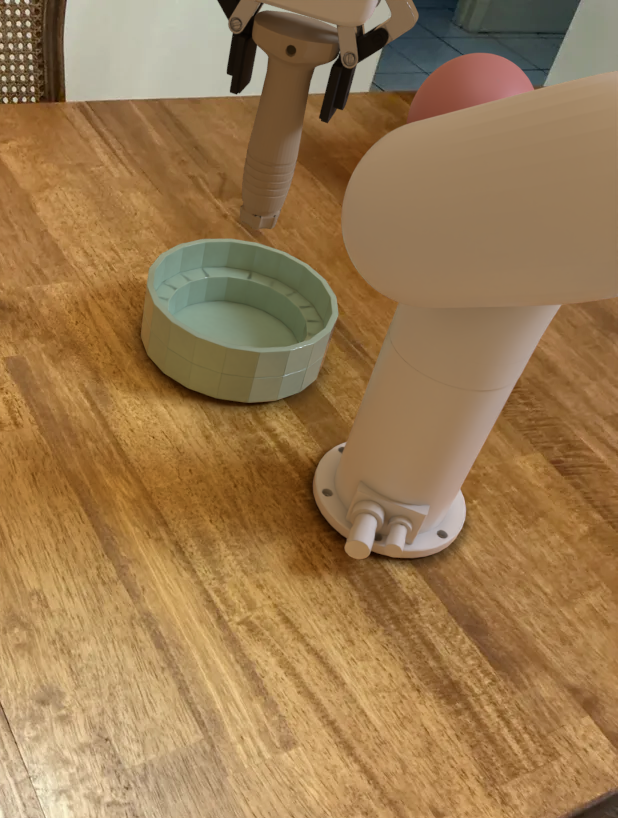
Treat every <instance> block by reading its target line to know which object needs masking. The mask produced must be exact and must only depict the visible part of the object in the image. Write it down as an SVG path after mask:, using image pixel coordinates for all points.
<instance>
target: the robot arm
mask: <svg viewBox="0 0 618 818" xmlns="http://www.w3.org/2000/svg"><path fill="white" fill-rule="evenodd" d="M216 1H217V3H218V4H219V7H220V9H221V11H222V12H223V13H224V16H225V17H226V19H227V21H228V22H227V26H228V29H229V31H230V32H231V33H232V35H231V40H230V47H229V53H228V59H227V65H226V75H228V76H231V80H230V87H229V93H230V94H233V95H238V94H241V93H242V92H243V91H244V89H246V88H247V86H249V84H250V83H251V80H252V76H253V70H254V66H255V62H256V61H255V60H256V56H257V50H258V45H257V44H256V43H255V42H254V40H253V39H252V30H253V24H254V18H255V15H256V14H257V13H259V12H261V10H262V8H263V6H264V5H268V6H272V7H275V8H278V9H281V10H284V11H286V12H290V13H294V14H298V15H302V16H306V17H310V18H313V19H317V20H319V21H322V22H324V23H327V24H330V25H331V24H332V25H335V26H336V28H337V32H338V40H339V47H340V52H339V55H338V57H337V58H336V59H335V60H334V62H333V63H332V65H331V68H330V72H329V75H328V79H327V82H326V86H325V87H326V88H325V91H324V94H323V99H322V103H321V108H320V112H319V116H318V119H320V121H321V122H322V123H326V124H329V122H330V121H331V119H332V118H333V116H334V115H335V113H336V112H337V110H340V111H344V109H345V108H346V105H347V102H348V100H349V96H350V93H351V88H352V84H353V80H354V78H355V73H356V69H357V67H358V64H359V63H361V62H363V61H364V60H366V59H367V58H369V57H371V56H372V55H374V54H375V53H377V52H379V51H380V50H382V49H383V48H385V46H387V45H388V44H390V43H391V42H393V41H395V40H396V39H398V38H399V37H401V36H402V35H404V34H406V33H407V32H409V31H410V30H412V29H413V28H414V27H415V25H416V24H417V22H418V20H419V12H418V9H417V8H416V5H415V3H414V2H413V0H384V1H385V3H386V4H387V7H388V9H389V11H390V17H388V18H387V19H386V20H385V21H383V22H382V23H379V24H377V25H376V26H374V27H372V28H371V29H369V30H368V31H365V23H366V22H367V21H369V20H370V18H371V17H372V16H373V15H374V12H375V10H376V8H377V7H379V5H380V3H381V1H382V0H216ZM342 200H343V201H342V204H341V205H342V206H341V214H340V218H341V219H340V226H341V235H342V239H343V244H344V247H345V249H346V250H345V251H346V252H347V255H348V257H349V260H350V261H351V264H352V265H353V267H354V268H355V270H356V271H357V273H358V274H359V275H360V276H361V278H362V279H363V280H364V281H365V282H366V283H367V284H368V285H369V286H370V287H371V288H373V289H374V290H375V291H376V292H378V293H379V294H381V295H382V296H384V297H386V298H387V299H389V300H392V301H394V302H396V303H397V306H396V308H395V311H394V314H393V316H392V319H391V321H390V323H389V326H388V328H387V331H386V334H385V337H384V339H383V341H382V345H381V347H380V350H379V353H378V355H377V358H376V361H375V364H374V367H373V369H372V372H371V374H370V377H369V379H368V382H367V385H366V388H365V390H364V392H363V396H362V399H361V401H360V405H359V407H358V410H357V412H356V415H355V418H354V420H353V423H352V426H351V428H350V431H349V434H348V436H347V439H346V441H345V442H342V443H339V444H338V445H335V446H333V447H332V448H331V449H330V450H328V451H327V452H326V453H325V454H324V455H323V456H322V458H321V459H320V460H319V462H318V465H317V467H316V469H315V472H314V476H313V480H312V494H313V497H314V500H315V504H316V506H317V507H318V509H319V511H320V514H321V515H322V516H323V518H324V519H325V520H326V521H327V523H328V524H329V525H330V526H331V527H332V528H333V529H334V530H335V531H336V532H338V533H339V535H341V536H342V537H344V538H345V539H346V541H345V544H344V547H343V548H344V551H345V554H346V555H348V556H349V557H351V558H353V559H356V560H364V559H367V558H369V556H370V554H371V552H374V553H376V554H380V555H382V556H386V557H390V558H395V559H396V558H398V559H399V558H400V559H417V558H424V557H428V556H431V555H434V554H438V553H439V552H441V551H443V550H445V549H446V548H448V547H449V546H451V544H453V542H454V541H455V540H456V539H457V537H458V535H460V532H461V530H462V529H463V527H464V523H465V521H466V515H467V506H466V502H465V497H464V495H463V492H462V490H461V488H462V487H463V485H464V482H465V480H466V478H467V477H468V475H469V472H470V471H471V469H472V468H473V465H474V464H475V462H476V460H477V457H478V456H479V454H480V452H481V451H482V448H483V446H484V444H485V442H486V441H487V439H488V437H489V435H490V433H491V431H492V430H493V428H494V425H495V424H496V422H497V420H498V418H499V416H500V415H501V412H502V410H503V409H504V407H505V405H506V403H507V401H508V399H509V397H510V395H511V394H512V392H513V390H514V388H515V386H516V385H517V382H518V381H519V378H521V376H522V374H523V372H524V370H525V369H526V366H527V364H528V362H529V361H530V359H531V357H532V356H533V353H534V352H535V350H536V348H537V347H538V344H539V343H540V341H541V340H542V337H543V336H544V334H545V332H546V330H547V328H548V327H549V325H550V324H551V322H552V320H553V318H555V316H556V315H557V313H558V311H559V310H560V308H561V307H562V306H565V305H574V304H583V303H589V302H596V301H604V300H608V299H613V298H614V299H615V298H618V70H613V71H606V72H602V73H598V74H597V73H596V74H593V75H589V76H588V75H587V76H584V77H579V78H576V79H571V80H566V81H563V82H560V83H555V84H551V85H548V86H544V87H540V88H535V89H534V90H532V91H529V92H525V93H521V94H518V95H514V96H510V97H507V98H503V99H499V100H495V101H491V102H488V103H484V104H480V105H476V106H473V107H469V108H465V109H461V110H458V111H454V112H450V113H446V114H443V115H439V116H435V117H431V118H427V119H424V120H420V121H416V122H412V123H409V124H407V123H406V124H403V125H401V126H399V127H396V128H395V129H393V130H391V131H389V132H387V133H386V134H385V135H383V136H382V137H381V138H380V139H378V140H376V142H375V143H373V145H372V146H371V147H370V148H369V149H368V150H367V151H366V153H365V154H364V155H363V156H362V157H361V159H360V160H359V161H358V163H357V165H356V166H355V168H354V170H353V172H352V174H351V176H350V178H349V181H348V182H347V185H346V189H345V192H344V195H343V199H342Z"/></svg>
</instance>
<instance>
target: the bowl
mask: <svg viewBox="0 0 618 818" xmlns="http://www.w3.org/2000/svg"><path fill="white" fill-rule="evenodd" d="M338 307H339V305H338V299H337V296H336V294H335V292H334V290H333V289H332V287H331V285H330V284H329V283H328V281H327V280H326V278H324V277H323V276H322V275H321V274H320V273H318V272H317V271H316V269H314V268H313V267H311V266H310V265H309V264H308V263H306V262H304V261H302V260H300V259H299V258H297V257H295V256H294V255H292V254H290V253H288V252H286V251H283V250H281V249H277V248H275V247H271V246H268V245H266V244H262V243H259V242H254V241H249V240H242V239H237V238H236V239H235V238H200V239H196V240H191V241H188V242H182V243H178V244H177V245H175V246H173V247H170V248H169V249H167V250H165V251H163V252H162V253H160V254H159V255H158V256H157V258H155V260H154V261H153V263H152V264H151V265H150V267H148V272H147V279H146V286H145V296H144V304H143V311H142V320H141V328H140V330H141V331H140V339H141V341H142V344H143V346H144V349H145V352H146V354H147V356H148V358H149V359H150V360H151V361H152V362H153V363H154V364H155V366H156V367H158V369H159V370H160V371H161V372H162V373H163V374H165V375H166V376H168V377H170V379H172V380H174V381H176V382H177V383H178V384H179V385H182V386H183V387H185V388H187V389H189V390H191V391H193V392H194V391H195V392H197V393H200V394H202V395H205V396H209V397H211V398H214V399H218V400H224V401H233V402H240V403H246V404H247V403H248V404H250V403H251V404H252V403H263V402H276V401H278V400H282V399H285V398H288V397H291V396H293V395H297V394H299V393H301V392H303V391H304V390H305V389H307V388H308V387H309V386H310V385H312V383H314V382H315V381H316V380H317V378H318V376H319V374H320V372H321V370H322V367H323V365H324V363H325V361H326V360H325V359H326V356H327V354H328V350H329V347H330V343H331V340H332V337H333V334H334V332H335V328H336V325H337V322H338V318H339V308H338Z"/></svg>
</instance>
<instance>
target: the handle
mask: <svg viewBox="0 0 618 818" xmlns="http://www.w3.org/2000/svg"><path fill="white" fill-rule="evenodd" d="M252 39H253V40H254V42H255V43H256V44H257V48H260V50H262V52H264V54H265V55H266V56H267V64H266V73H265V76H264V79H263V80H264V81H263V85H262V89H261V93H260V94H261V95H260V98H259V102H258V106H257V110H256V114H255V118H254V121H253V126H252V130H251V133H250V137H249V140H248V145H247V150H246V155H245V158H244V159H245V161H244V165H243V174H242V183H241V200H242V204H241V205H240V208H239V220H241V222H242V223H245V224H246V225H248V226H250V228H251V229H253V230H256V231H259V230H262V229H264V230H265V229H267V230H272V229H274V228H275V227H276V225H277V223H278V220H279V218H280V214H281V212H282V209H283V206H284V204H285V202H286V199H287V196H288V194H289V191H290V189H291V188H290V187H291V185H292V181H293V178H294V175H295V171H296V166H297V162H298V156H299V152H300V151H299V150H300V144H301V140H302V139H301V138H302V134H303V133H302V132H303V126H304V120H305V115H306V109H307V103H308V98H309V93H310V88H311V82H312V79H313V76H314V72H315V69H316V68H317V67H319V66H323V65H327V64H329V63H332V62H333V61H336V60H337V58H338V56H339V53H340V47H339V40H338V32H337V26H334V25H331V24H330V23H328V22H324V21H321V20H317V19H314V18H311V17H307V16H304V15H301V14H297V13H294V12H289V11H278V10H268V9H266V10H262V11H261V10H260V11H259V13H257V14H256V15H255V18H254V24H253V30H252Z"/></svg>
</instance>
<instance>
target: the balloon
mask: <svg viewBox="0 0 618 818" xmlns="http://www.w3.org/2000/svg"><path fill="white" fill-rule="evenodd" d="M532 90H535V88H534V86H533V84H532V82H531V80H530V78H529V77H528V76H527V74H525V72H524V71H523V70H522V68H521V67H519V66H518V65H517V64H515V63H514V62H513V61H511V60H510V59H507V58H505V57H503V56H501V55H499V54H498V55H497V54H495V53H490V52H489V53H488V52H472V53H466V54H463V55H459V56H456V57H454V58H452V59H450V60H448V61H446V62H444V63H443V64H441V65H440V66H438V67H436V69H434V71H432V72H431V73H430V74H429V75H428V76H427V77H426V79H425V80H424V81H423V82H422V84H421V85H420V86H419V88H418V90H417V91H416V92H415V95H414V97H413V99H412V100H411V104H410V105H409V106H410V107H409V110H408V113H407V117H406V124H409V123H412V122H416V121H420V120H424V119H427V118H431V117H435V116H439V115H443V114H446V113H450V112H454V111H458V110H461V109H465V108H469V107H473V106H476V105H480V104H484V103H488V102H491V101H495V100H499V99H503V98H507V97H510V96H514V95H518V94H521V93H525V92H529V91H532Z"/></svg>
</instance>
